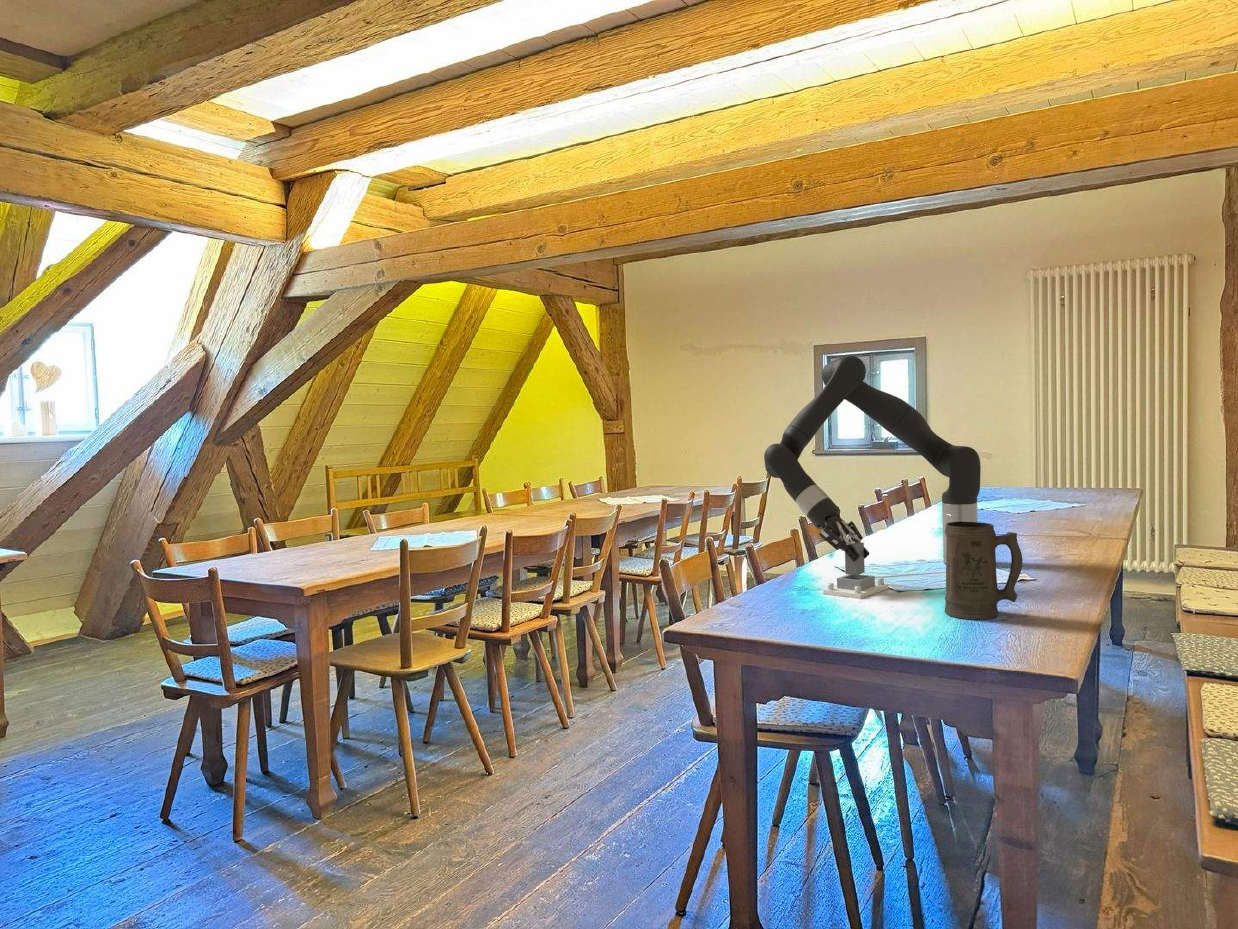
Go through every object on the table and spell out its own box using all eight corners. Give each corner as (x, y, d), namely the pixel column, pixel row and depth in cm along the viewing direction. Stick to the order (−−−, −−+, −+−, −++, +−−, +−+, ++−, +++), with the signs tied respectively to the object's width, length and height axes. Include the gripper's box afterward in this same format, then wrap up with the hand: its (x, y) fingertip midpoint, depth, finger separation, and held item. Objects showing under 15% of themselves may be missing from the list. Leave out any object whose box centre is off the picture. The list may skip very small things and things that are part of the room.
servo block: (853, 571, 211) (852, 539, 210) (864, 572, 209) (863, 540, 208) (845, 573, 208) (844, 541, 207) (856, 575, 206) (855, 542, 205)
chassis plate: (852, 584, 217) (852, 570, 217) (888, 588, 210) (888, 574, 210) (823, 593, 207) (822, 579, 207) (860, 598, 200) (859, 584, 200)
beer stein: (944, 619, 177) (949, 525, 176) (937, 607, 188) (942, 518, 186) (1023, 625, 174) (1028, 529, 172) (1012, 612, 184) (1017, 522, 183)
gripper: (811, 499, 207) (857, 552, 200) (841, 494, 217) (885, 544, 210) (793, 519, 212) (837, 572, 204) (823, 513, 222) (867, 563, 214)
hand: (861, 557), depth 207 cm, fingers closed on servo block, 4 cm apart
